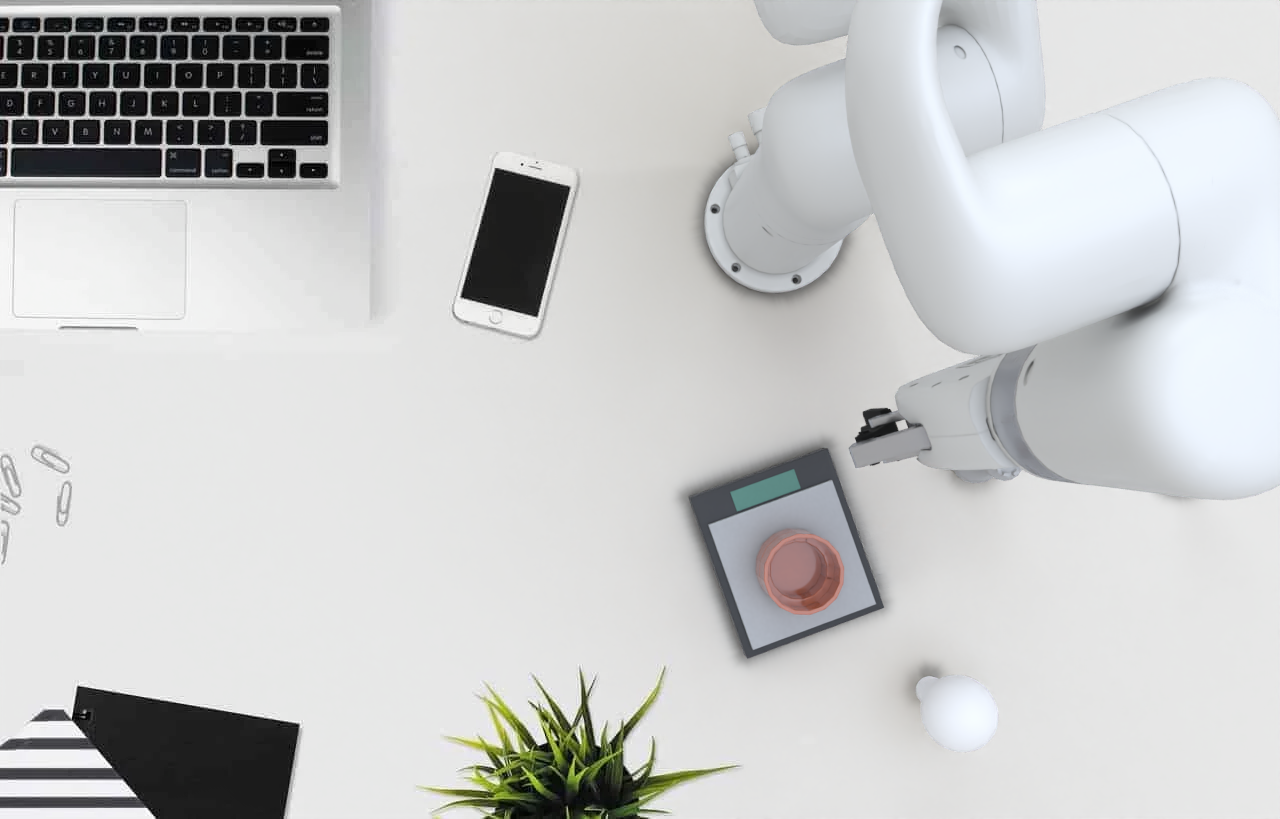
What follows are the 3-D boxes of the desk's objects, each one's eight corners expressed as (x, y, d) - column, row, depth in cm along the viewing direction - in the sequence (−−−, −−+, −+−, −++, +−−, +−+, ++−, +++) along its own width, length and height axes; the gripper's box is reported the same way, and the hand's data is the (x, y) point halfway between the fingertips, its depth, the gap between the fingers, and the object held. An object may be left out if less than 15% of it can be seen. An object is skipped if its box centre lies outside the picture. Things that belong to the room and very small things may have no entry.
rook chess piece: (1004, 446, 91) (1044, 448, 83) (984, 491, 91) (1022, 497, 83) (960, 425, 90) (996, 425, 82) (940, 470, 90) (974, 474, 82)
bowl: (744, 543, 87) (752, 550, 83) (815, 517, 88) (828, 522, 83) (769, 615, 87) (780, 626, 83) (841, 589, 88) (855, 598, 83)
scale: (688, 496, 89) (690, 498, 87) (823, 447, 90) (829, 448, 88) (744, 654, 89) (748, 660, 87) (879, 604, 90) (886, 609, 88)
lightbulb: (890, 657, 90) (932, 689, 79) (956, 650, 90) (1007, 681, 79) (896, 724, 90) (938, 766, 79) (962, 718, 90) (1014, 758, 79)
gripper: (1218, 266, 47) (1049, 307, 64) (877, 388, 46) (798, 397, 63) (1270, 416, 47) (1088, 417, 64) (931, 541, 46) (838, 509, 63)
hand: (944, 407), depth 64 cm, fingers open, 9 cm apart
